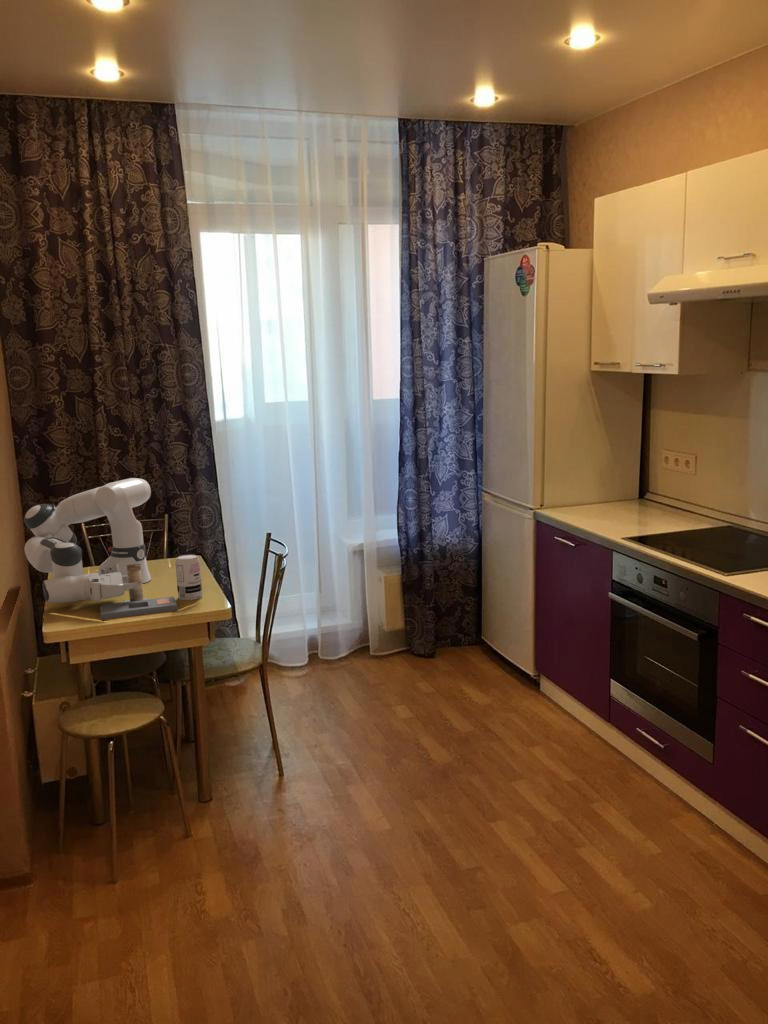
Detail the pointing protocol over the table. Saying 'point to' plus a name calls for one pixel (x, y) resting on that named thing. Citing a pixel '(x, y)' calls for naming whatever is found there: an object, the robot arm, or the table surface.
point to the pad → (129, 600)
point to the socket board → (138, 607)
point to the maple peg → (135, 576)
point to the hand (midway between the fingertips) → (136, 581)
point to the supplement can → (188, 577)
